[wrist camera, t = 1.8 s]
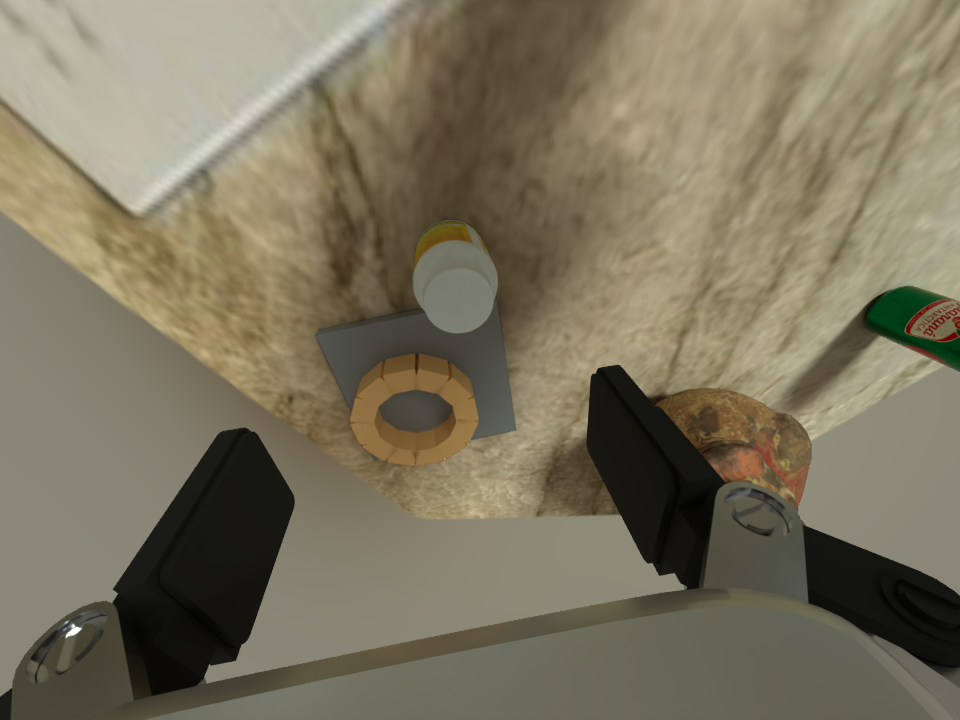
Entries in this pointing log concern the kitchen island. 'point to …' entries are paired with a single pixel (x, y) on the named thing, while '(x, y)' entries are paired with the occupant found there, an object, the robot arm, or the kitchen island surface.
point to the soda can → (919, 323)
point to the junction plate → (409, 333)
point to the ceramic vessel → (744, 439)
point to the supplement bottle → (454, 277)
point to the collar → (406, 377)
